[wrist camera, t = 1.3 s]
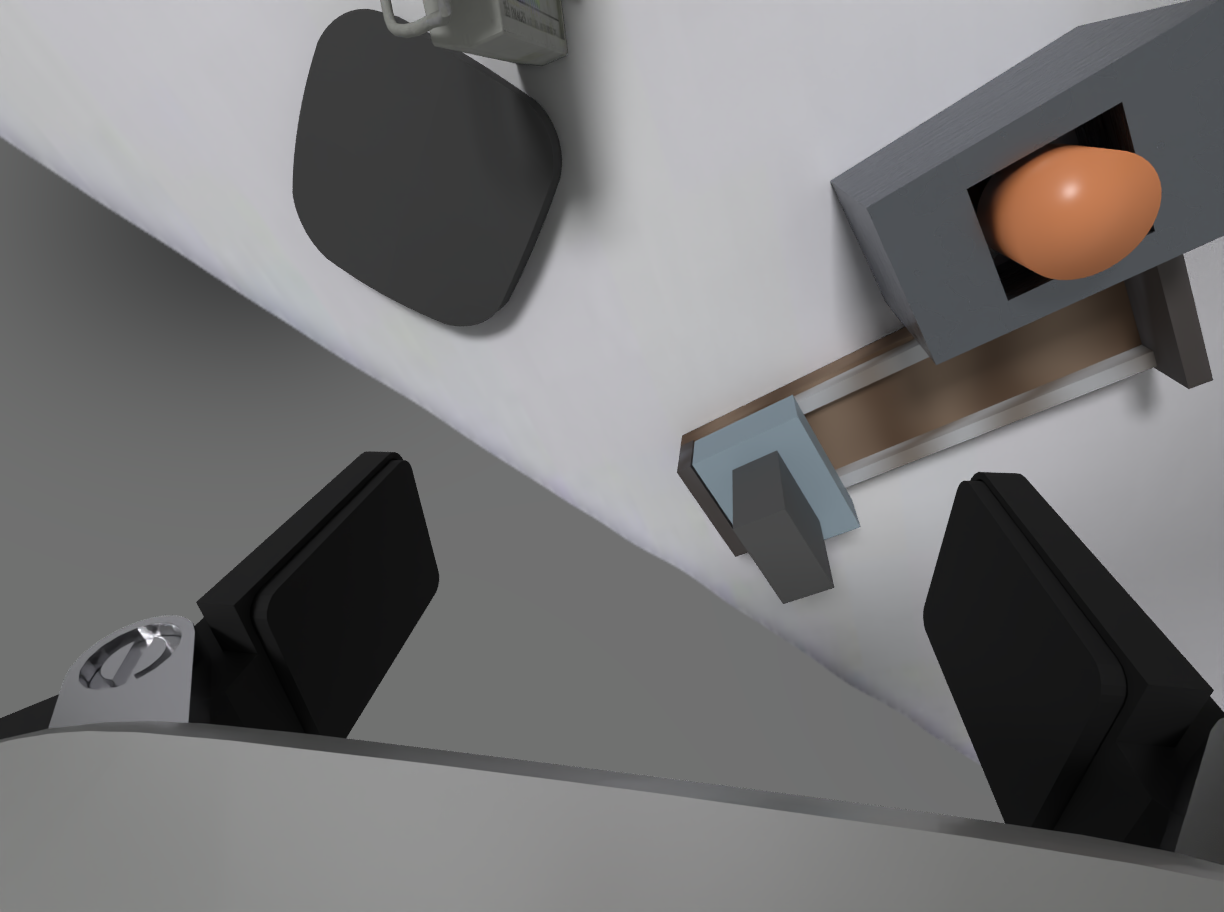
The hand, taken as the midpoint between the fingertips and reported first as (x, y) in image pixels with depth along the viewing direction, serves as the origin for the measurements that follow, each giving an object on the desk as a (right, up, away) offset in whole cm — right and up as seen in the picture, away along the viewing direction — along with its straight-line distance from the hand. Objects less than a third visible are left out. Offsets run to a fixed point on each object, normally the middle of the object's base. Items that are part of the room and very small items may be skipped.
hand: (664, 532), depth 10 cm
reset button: (+17, +12, +14) cm, 25 cm away
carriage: (+10, 0, +29) cm, 30 cm away
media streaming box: (-12, +19, +26) cm, 34 cm away
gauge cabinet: (+18, +16, +21) cm, 32 cm away
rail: (+17, +5, +28) cm, 33 cm away
